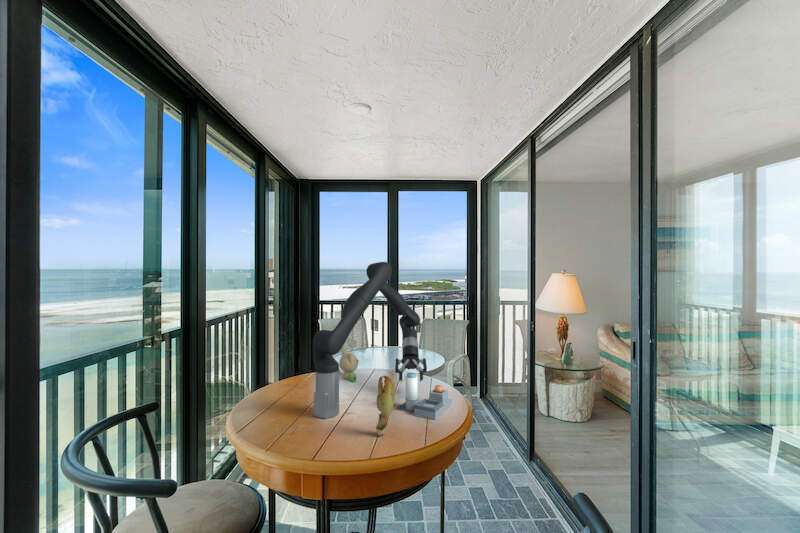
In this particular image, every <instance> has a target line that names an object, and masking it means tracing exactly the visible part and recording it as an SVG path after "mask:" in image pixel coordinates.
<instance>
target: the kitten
mask: <svg viewBox="0 0 800 533" xmlns="http://www.w3.org/2000/svg"><path fill="white" fill-rule="evenodd" d="M341 352H342V355H341V356H340V358H339V362H338V363H339V377H342V378H343V379H345V380H349V382H350V383H351V382H352V383H356V382H357V374H356V372H355V371H356V370H358V366H359V359H358V358H357V356H356V355H355V354H354V353H352V352H347V351H346V350H345V349H344V348H342V351H341ZM341 370H342V371H343V372H342V371H341Z"/></svg>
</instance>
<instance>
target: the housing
mask: <svg viewBox="0 0 800 533" xmlns="http://www.w3.org/2000/svg"><path fill="white" fill-rule="evenodd" d="M452 405H453V404H452V399H451V398H449V391H448V390H447V389H443V393H435V388H434V389H433V390H431V391H430V392H429V398H423V399H422V400H421V401H418V404H416V405H415V409H414V413H413V414H414V416H416V417H420V418H424V419H430V420H435V421H436V420H437V419H438V418H439V417H440V416H441V415H442V414H444V413H445V412H446V411H448V409H450V407H452Z"/></svg>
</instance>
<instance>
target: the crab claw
mask: <svg viewBox="0 0 800 533" xmlns="http://www.w3.org/2000/svg"><path fill="white" fill-rule="evenodd" d="M383 378H384V380H383ZM377 383H378V385H377V395H376V408H377V410H378V411H379V412H380V413H379V414H378V422H377V425H376V431H377V432H376V436H377V437H382V436H384V435H385V434H386V432H387V428H388V421H389V417H390V415H391V413H392V410H393V408H394V404H395V398H396V387H395V383H394V381H393V380H392V379H391V378H390V377H389V376H387V375H382V376H380V377H379V378H378V382H377ZM383 384H384V385H383Z"/></svg>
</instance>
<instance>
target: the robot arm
mask: <svg viewBox="0 0 800 533" xmlns="http://www.w3.org/2000/svg"><path fill="white" fill-rule="evenodd" d="M392 275H393V266H392V265H391V263H389V262H387V261H378V262H374V263H371V264H369V265H368V266H367V268H366V276H367V278H368V280H367V281H366V282H364V283H363V284H362V285H360V286H359V287H358V288H356V289H355V290H354V291H353V292H352V293H351V294H350V295H349V296H348V298H347V299H346V300H345V301H344V304H343V306H342V311H341V313H342V314H341V318H340V320H339V322H338V324H337V325H336V327H334V329H333V330H328V329H320V330H318V331H317V332H316V333H315V334H314V336H313V339H312V356H313V357H312V358H313V360H312V361H313V364H314V367H315V391H314V392H313V416H314V417H317V418H320V419H326V420H327V419H329V418H333V417H336V416H338V415H339V414H340V375H339V369H340V366H339V362H338V361H337V360H336V359H335V358H334V356H333V355H336V354H338V353H339V352H340V351H341V350H342V349H343V347H344V345H345V343H346V342H347V339H348V337H349V336H350V335H351V332H352V331H353V329H354V327H355V326H356V324H357V323H358V321H359V320H360V319H361V317H362V316H363V314H365V312H366V310H367V309H368V307H369V306H370V305H371V302H372V301H373V300H374V299H375V297H376V296H377V294H378V293H379V292H380V293H381V294H382V295H383V297H384V298H385V299H386V300H387V302H388V303H389V304H390V305H391V307H392V309H393V310H394V312H395V314H396V315H398V316H400V317H399V320H398V323H399V326H400V329H401V333H402V348H401V349H402V359H399V358H395V363H394V364H395V366H394V370H395V371H394V372H395V374H398V379H399V381H400V382H403V372H406V370H416V371H418V373H419V382H422V381H424V374H425V373H427V372H428V371H427V359H426V358H425V357H424V358H422V359H420V358H419V357H420V356H419V342H418V332H417V330H416V327H417V326H419V325H420V323H421V318H420V315H419V314H418V312H416V311H415V310H414V309H413V308H412V307H411V306H410V305H409V304H408V303H407V302H406V300H405V298H404V297H403V295H402V294H401V293H399V291H397V290H396V289H395V288H393V287H392V285H390V284H389V283H388V281H389V280H390V279H391V277H392ZM414 327H415V328H414ZM401 364H402V365H401ZM420 364H421V365H422V366H423V368H422V367H421V365H420ZM399 365H401V367H400V368H399Z"/></svg>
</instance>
